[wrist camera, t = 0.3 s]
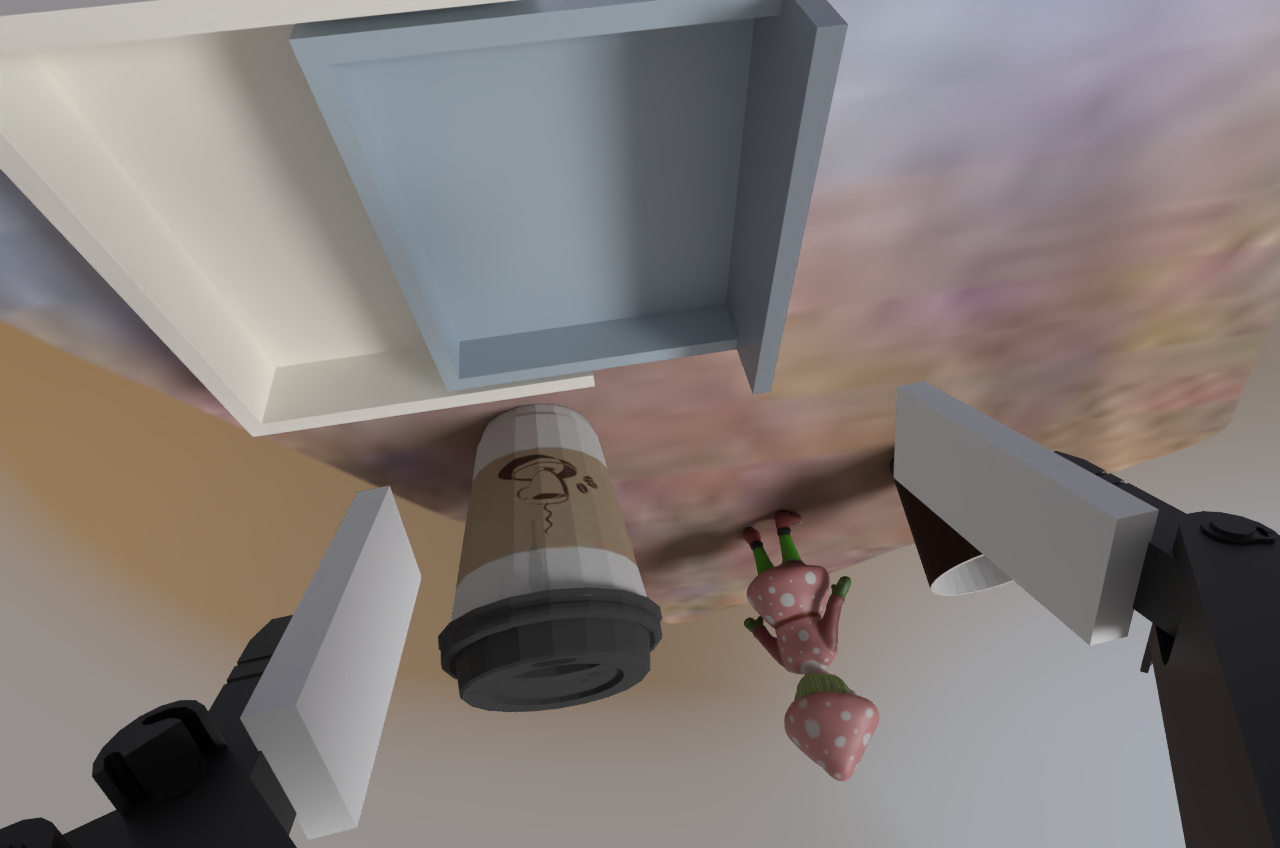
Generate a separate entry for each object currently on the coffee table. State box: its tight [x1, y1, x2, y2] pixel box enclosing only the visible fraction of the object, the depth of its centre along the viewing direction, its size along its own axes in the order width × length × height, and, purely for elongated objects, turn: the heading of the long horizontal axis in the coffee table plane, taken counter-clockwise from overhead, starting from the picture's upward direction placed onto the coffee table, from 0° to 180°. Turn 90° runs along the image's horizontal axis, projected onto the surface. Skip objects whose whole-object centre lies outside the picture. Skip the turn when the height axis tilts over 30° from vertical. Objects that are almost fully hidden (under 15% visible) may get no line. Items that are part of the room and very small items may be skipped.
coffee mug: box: [890, 457, 1014, 596], centre depth 46 cm, size 12×9×10 cm
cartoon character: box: [744, 511, 879, 781], centre depth 48 cm, size 10×7×20 cm
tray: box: [288, 0, 848, 394], centre depth 23 cm, size 15×14×6 cm
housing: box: [0, 0, 595, 437], centre depth 23 cm, size 17×16×4 cm
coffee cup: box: [438, 404, 662, 712], centre depth 34 cm, size 11×11×15 cm
